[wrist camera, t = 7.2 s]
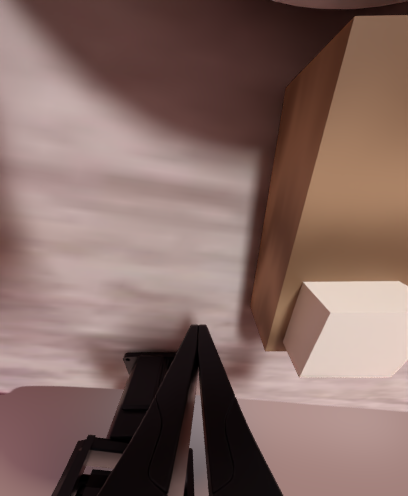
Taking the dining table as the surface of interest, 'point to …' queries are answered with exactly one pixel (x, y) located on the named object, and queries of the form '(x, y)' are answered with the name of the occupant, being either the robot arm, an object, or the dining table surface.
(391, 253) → the board
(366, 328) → the cream tile
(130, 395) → the robot arm
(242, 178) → the dining table surface
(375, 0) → the bowl
